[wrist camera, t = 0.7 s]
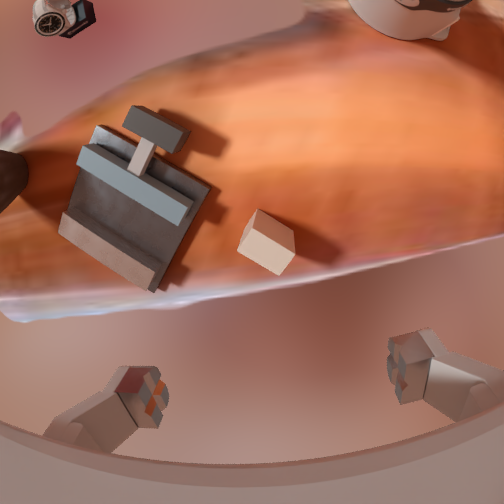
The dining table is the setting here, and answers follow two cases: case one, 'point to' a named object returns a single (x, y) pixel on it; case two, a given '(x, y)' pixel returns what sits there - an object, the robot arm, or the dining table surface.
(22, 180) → the plant pot
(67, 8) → the watch
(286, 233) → the block
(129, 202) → the vise bed
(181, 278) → the dining table surface
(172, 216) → the vise jaw
